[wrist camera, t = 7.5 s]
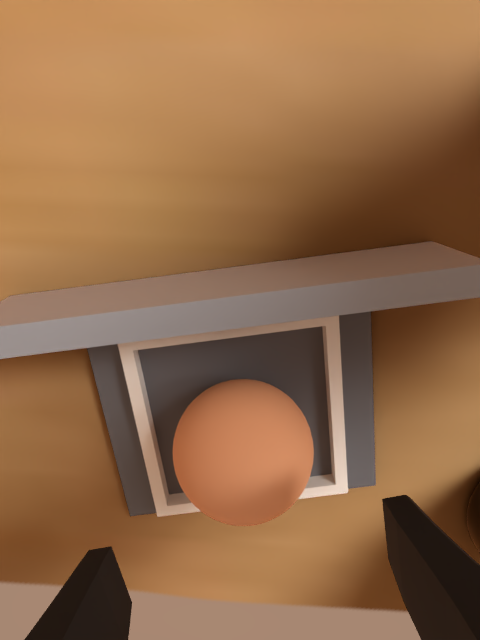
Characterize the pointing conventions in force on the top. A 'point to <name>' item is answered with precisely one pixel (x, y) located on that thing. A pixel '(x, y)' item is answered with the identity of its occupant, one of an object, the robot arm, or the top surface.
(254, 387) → the coral ball
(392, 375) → the top surface
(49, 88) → the top surface
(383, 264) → the grey wall
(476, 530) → the supplement bottle
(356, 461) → the mat
